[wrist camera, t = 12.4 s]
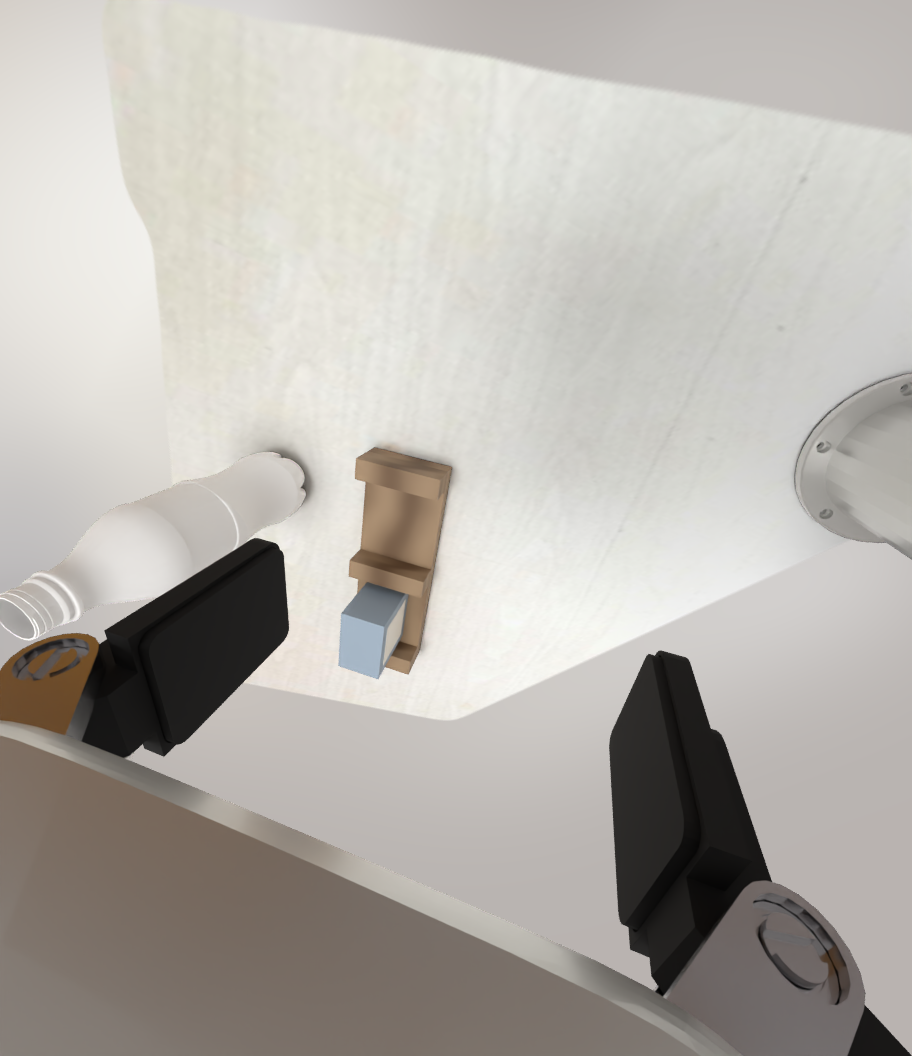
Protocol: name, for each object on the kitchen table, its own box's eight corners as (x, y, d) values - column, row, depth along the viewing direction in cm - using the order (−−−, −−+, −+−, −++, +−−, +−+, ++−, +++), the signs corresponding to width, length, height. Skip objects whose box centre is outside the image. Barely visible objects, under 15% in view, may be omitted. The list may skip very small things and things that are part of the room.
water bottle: (271, 513, 47) (15, 669, 26) (245, 452, 45) (-66, 569, 23) (324, 504, 45) (91, 668, 23) (299, 440, 43) (11, 556, 21)
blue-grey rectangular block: (410, 586, 45) (384, 627, 39) (403, 635, 48) (378, 679, 42) (372, 575, 46) (341, 613, 40) (367, 623, 49) (338, 665, 43)
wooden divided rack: (452, 467, 40) (440, 480, 36) (419, 650, 51) (408, 674, 47) (374, 447, 41) (356, 458, 37) (359, 631, 52) (343, 653, 48)
